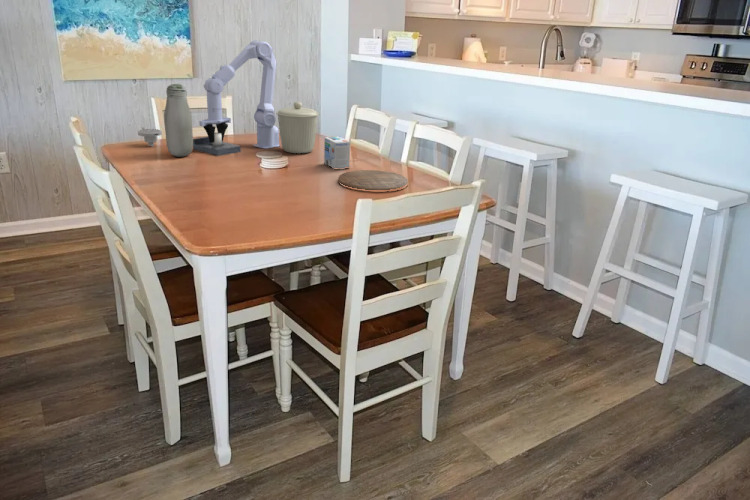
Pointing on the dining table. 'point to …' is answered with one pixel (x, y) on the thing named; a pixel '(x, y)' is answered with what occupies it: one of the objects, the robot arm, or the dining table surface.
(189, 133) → the grey green bottle
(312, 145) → the canister
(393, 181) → the trivet
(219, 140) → the white rounded capsule
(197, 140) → the jig
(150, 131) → the showerhead
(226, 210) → the dining table surface
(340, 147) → the light bulb box
